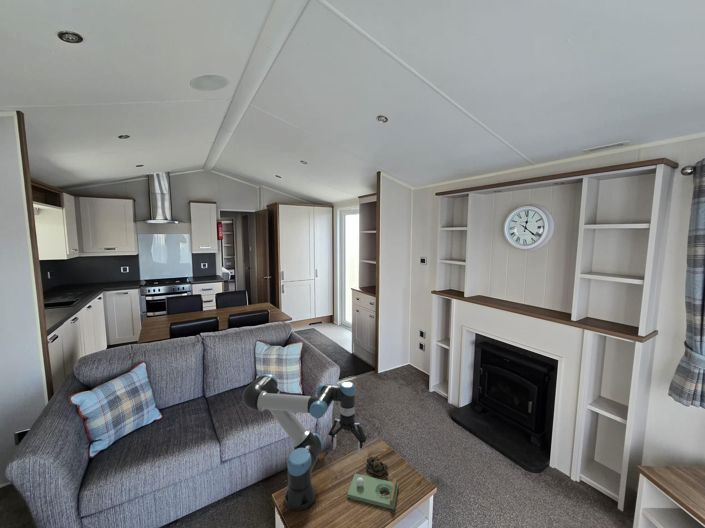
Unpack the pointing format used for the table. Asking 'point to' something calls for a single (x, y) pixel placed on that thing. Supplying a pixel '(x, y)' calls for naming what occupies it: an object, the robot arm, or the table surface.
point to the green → (374, 491)
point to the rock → (376, 466)
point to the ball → (360, 482)
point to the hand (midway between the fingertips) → (346, 450)
